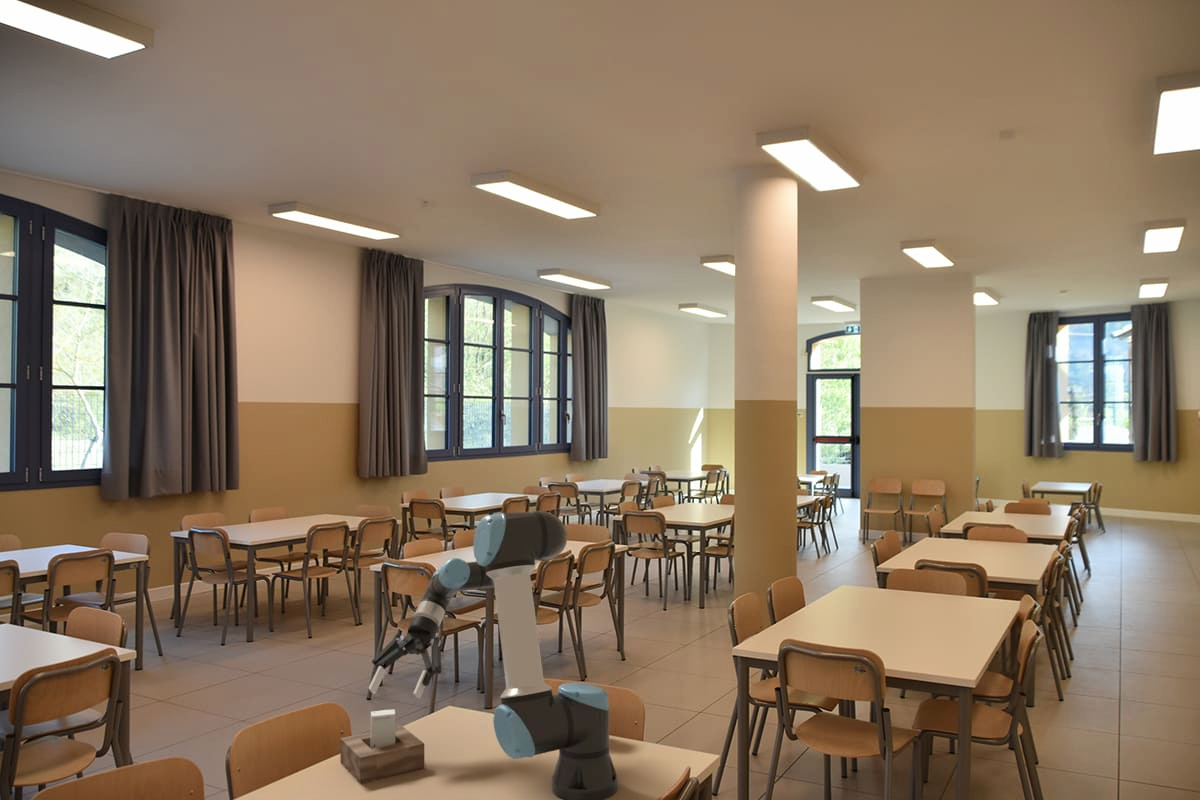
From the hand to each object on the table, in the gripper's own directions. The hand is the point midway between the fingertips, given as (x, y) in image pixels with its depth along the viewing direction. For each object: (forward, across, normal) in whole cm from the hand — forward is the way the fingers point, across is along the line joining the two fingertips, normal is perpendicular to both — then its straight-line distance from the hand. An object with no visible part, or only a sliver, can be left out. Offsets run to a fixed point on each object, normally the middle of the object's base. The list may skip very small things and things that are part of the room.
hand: (393, 693), depth 217 cm
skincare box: (+14, 0, -7) cm, 16 cm away
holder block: (+15, 0, -8) cm, 17 cm away
